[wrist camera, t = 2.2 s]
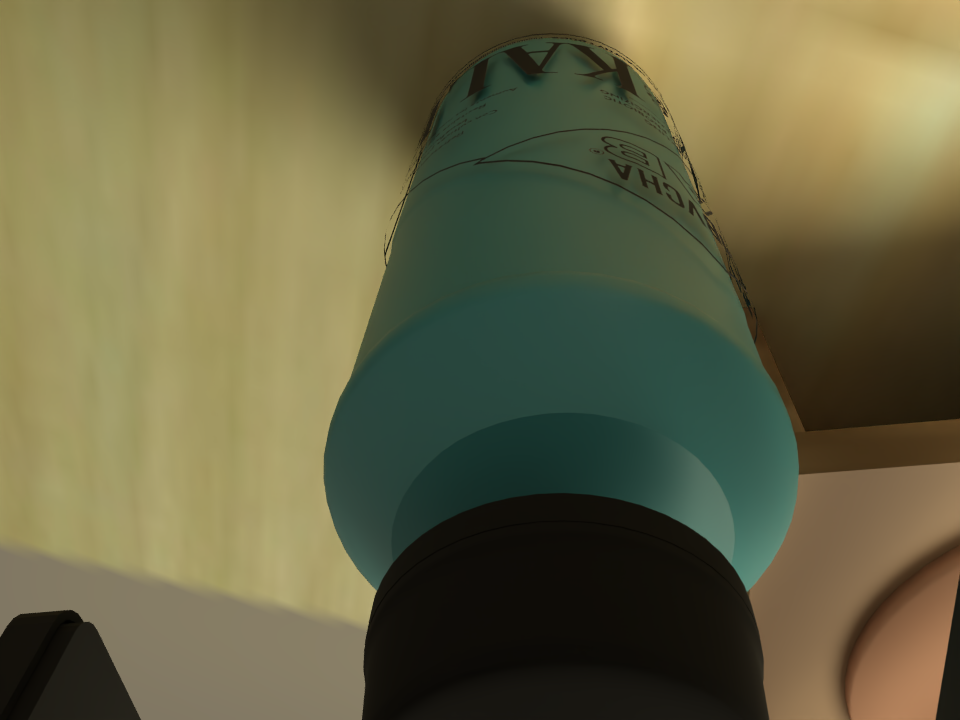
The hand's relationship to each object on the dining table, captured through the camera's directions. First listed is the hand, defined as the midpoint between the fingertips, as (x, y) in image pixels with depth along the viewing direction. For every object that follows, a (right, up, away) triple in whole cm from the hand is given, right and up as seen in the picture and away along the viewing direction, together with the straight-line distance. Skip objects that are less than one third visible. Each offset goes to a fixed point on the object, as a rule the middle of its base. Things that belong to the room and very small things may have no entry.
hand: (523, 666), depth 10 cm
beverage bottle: (+1, +10, +15) cm, 18 cm away
